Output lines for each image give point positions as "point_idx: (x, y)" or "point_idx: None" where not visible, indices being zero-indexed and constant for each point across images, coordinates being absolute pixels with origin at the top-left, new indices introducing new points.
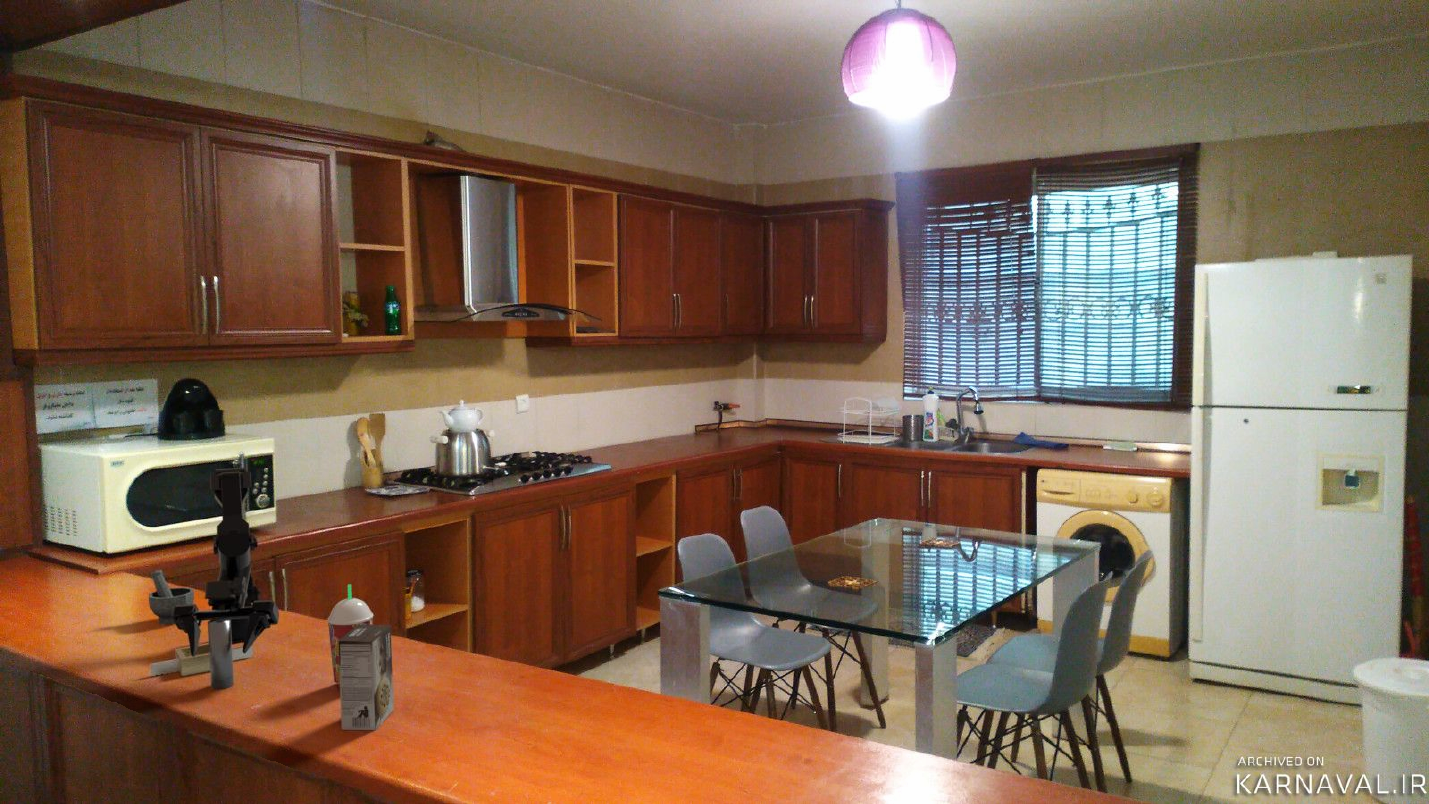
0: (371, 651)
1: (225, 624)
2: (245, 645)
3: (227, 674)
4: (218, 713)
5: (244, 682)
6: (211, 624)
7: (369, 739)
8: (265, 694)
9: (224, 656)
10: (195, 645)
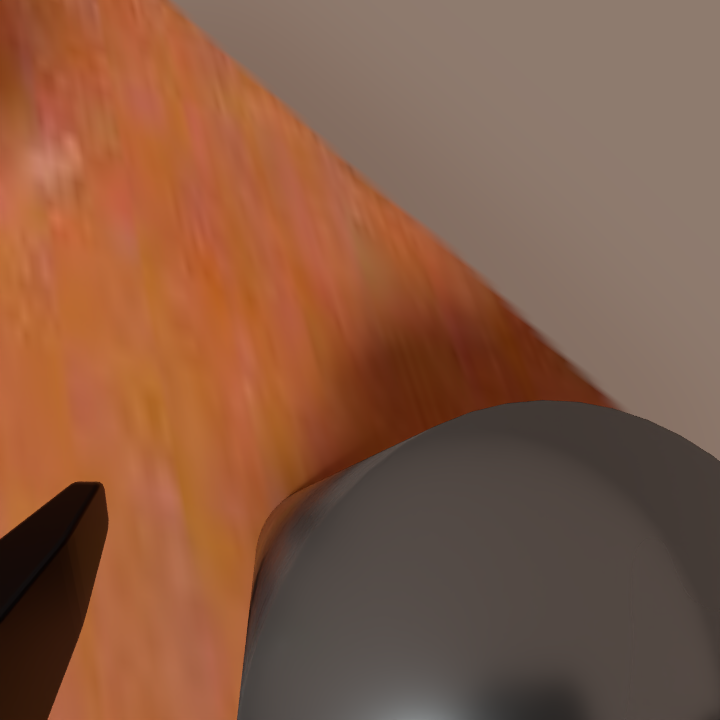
0: None
1: (332, 505)
2: (41, 522)
3: (281, 504)
4: (239, 130)
5: (189, 596)
6: (670, 442)
7: None
8: (14, 326)
9: (306, 488)
10: None
